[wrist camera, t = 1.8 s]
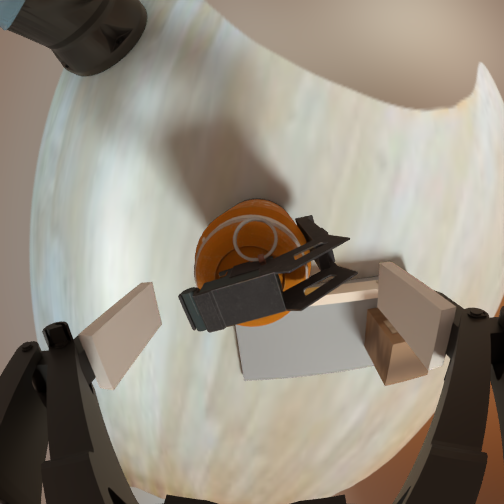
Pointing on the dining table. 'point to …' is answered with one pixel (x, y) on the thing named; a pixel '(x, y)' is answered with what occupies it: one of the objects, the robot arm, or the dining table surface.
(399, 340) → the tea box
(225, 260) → the canister
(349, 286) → the shelf board
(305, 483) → the dining table surface
